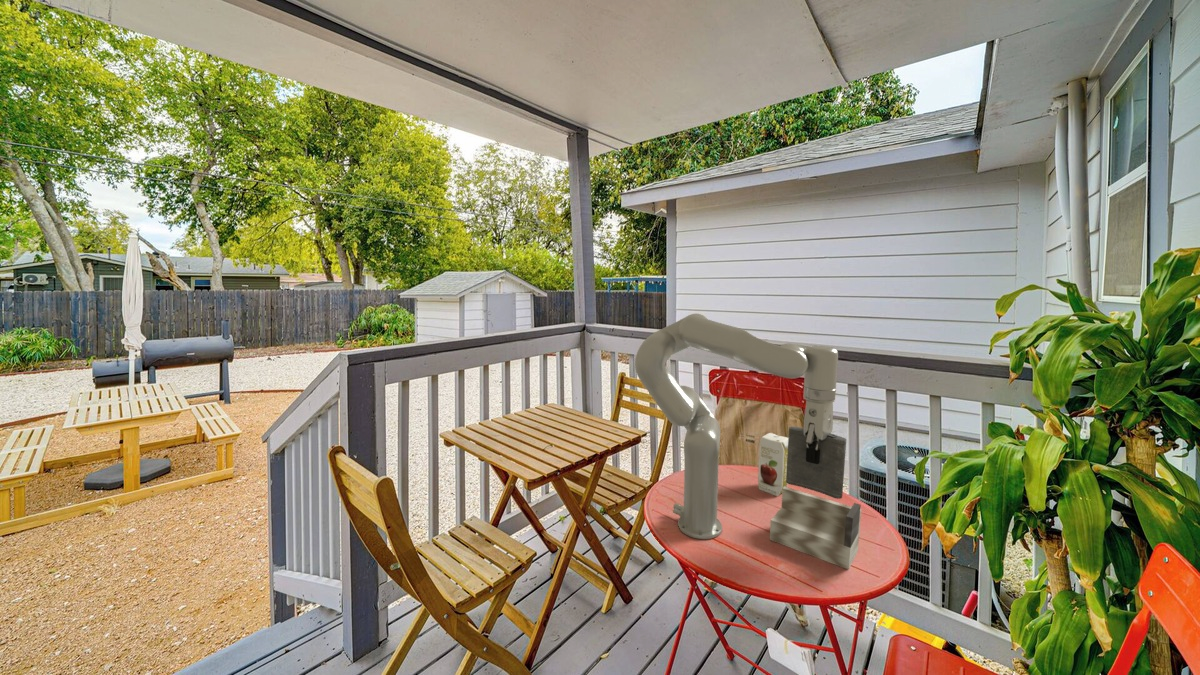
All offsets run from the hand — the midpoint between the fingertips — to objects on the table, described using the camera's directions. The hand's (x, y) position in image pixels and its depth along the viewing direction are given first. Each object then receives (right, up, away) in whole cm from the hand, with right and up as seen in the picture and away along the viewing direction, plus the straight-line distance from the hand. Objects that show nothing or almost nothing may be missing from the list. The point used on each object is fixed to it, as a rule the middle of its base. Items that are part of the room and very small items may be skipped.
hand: (814, 459), depth 123 cm
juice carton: (+1, -20, +34) cm, 39 cm away
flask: (0, -8, +1) cm, 9 cm away
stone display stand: (+1, -24, +3) cm, 25 cm away
